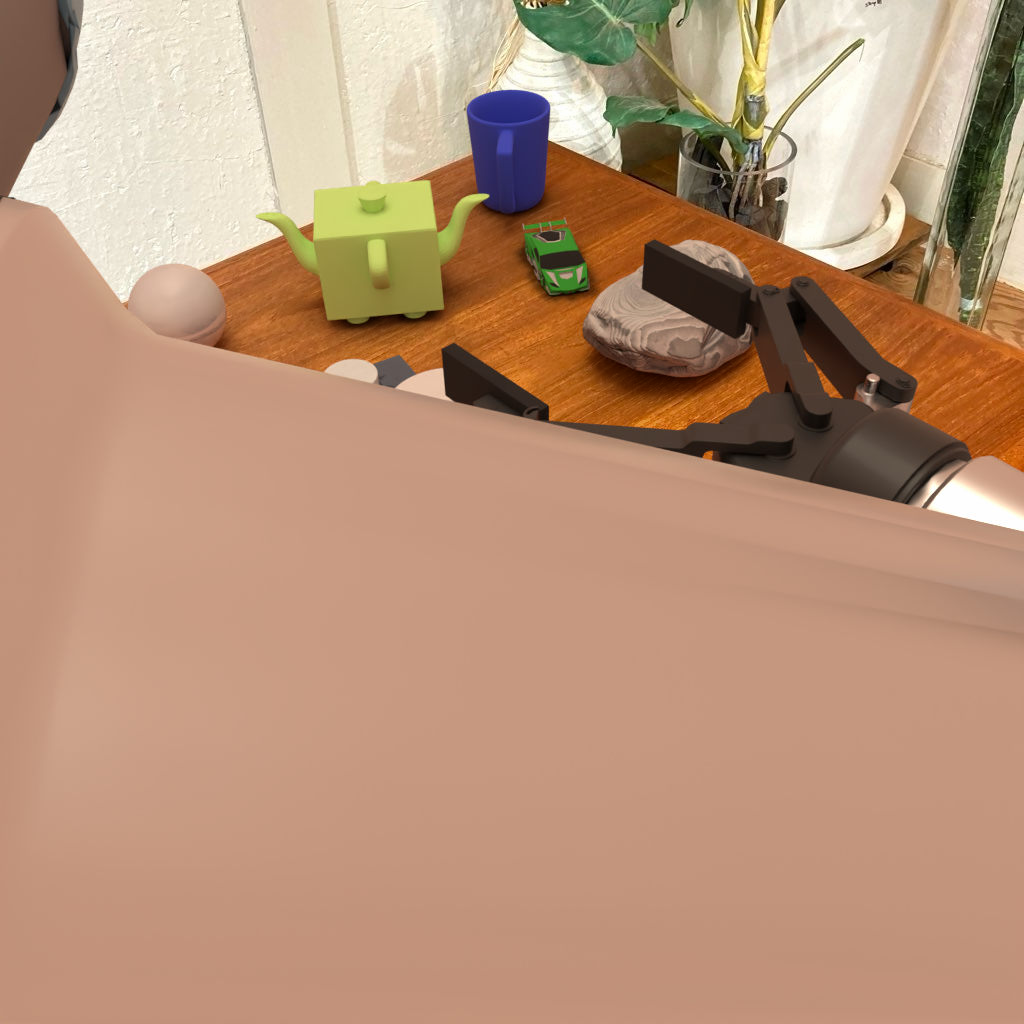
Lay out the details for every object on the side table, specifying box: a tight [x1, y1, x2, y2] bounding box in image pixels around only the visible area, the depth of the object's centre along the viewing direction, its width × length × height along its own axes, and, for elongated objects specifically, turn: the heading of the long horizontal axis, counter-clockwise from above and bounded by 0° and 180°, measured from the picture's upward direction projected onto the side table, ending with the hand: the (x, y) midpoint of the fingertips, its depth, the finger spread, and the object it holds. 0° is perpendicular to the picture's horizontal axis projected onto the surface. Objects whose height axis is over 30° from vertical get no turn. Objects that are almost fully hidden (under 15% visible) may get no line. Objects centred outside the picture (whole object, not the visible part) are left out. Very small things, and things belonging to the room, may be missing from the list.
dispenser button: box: [323, 358, 379, 385], centre depth 78 cm, size 4×4×2 cm
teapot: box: [255, 179, 489, 324], centre depth 94 cm, size 15×13×11 cm
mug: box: [466, 89, 551, 215], centre depth 106 cm, size 8×12×10 cm
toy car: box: [521, 217, 590, 296], centre depth 100 cm, size 10×5×2 cm, turn 13°
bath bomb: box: [127, 262, 228, 347], centre depth 90 cm, size 8×8×8 cm
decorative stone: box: [582, 239, 756, 378], centre depth 89 cm, size 15×14×10 cm
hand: (553, 313), depth 54 cm, fingers open, 13 cm apart
